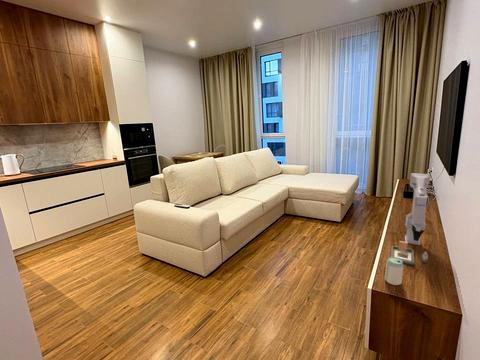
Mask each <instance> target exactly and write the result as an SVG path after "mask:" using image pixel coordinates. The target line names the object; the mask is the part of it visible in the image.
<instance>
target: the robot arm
mask: <svg viewBox="0 0 480 360" xmlns="http://www.w3.org/2000/svg"><path fill="white" fill-rule="evenodd" d="M409 180H410V181H409V185H410V187H411V188H412V189H413V197H412V209H411V212H410V213H408V214H407V215H406V216H405V217H406V219H405V223H404V224H405V227H406V235H404V240H405V241H404V242H408V244H412V245H417V246H421V236H422V235H423V234H424V232H425V228H426V226H427V223H426V214H427V213H426V212H427V207H428V206H429V203H430V202H429V200H430V199H429V195H428V191H427V188H428V186H429V184H430V181H431V175H430V174H429V173H418V172H416V173H413V172H412V173H410V178H409Z"/></svg>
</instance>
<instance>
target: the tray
mask: <svg viewBox="0 0 480 360" xmlns="http://www.w3.org/2000/svg"><path fill="white" fill-rule="evenodd" d="M390 248H391V250H390V252H391V253H390V257H394V252H395V251H400V250H399V246H397V245H391V247H390ZM405 253H410V254H411V262H410V261H405V260H402V263H403V264H405V265H409V266H415V264H416V263H415V262H416V261H415V255H414V253H415V251H414V249H412V248H407V251H405ZM398 257H403V258H407V259H408V256H406V255H401V254H398Z"/></svg>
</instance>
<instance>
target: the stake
mask: <svg viewBox="0 0 480 360" xmlns="http://www.w3.org/2000/svg"><path fill="white" fill-rule="evenodd" d="M421 256H422V257H421V264H427V263H428V259H429V254H428V251H424V252H423V253H422V255H421Z"/></svg>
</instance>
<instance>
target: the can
mask: <svg viewBox="0 0 480 360" xmlns="http://www.w3.org/2000/svg"><path fill="white" fill-rule="evenodd" d="M403 273H404V263H402V260H401V259H399V258H396V257H391V256H390V257H388V259H387V260H386V265H385V273H384V280H385V282H387V283H388V284H390V285H393V286H399V285H401V284H402V281H403V280H402V279H403Z"/></svg>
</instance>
